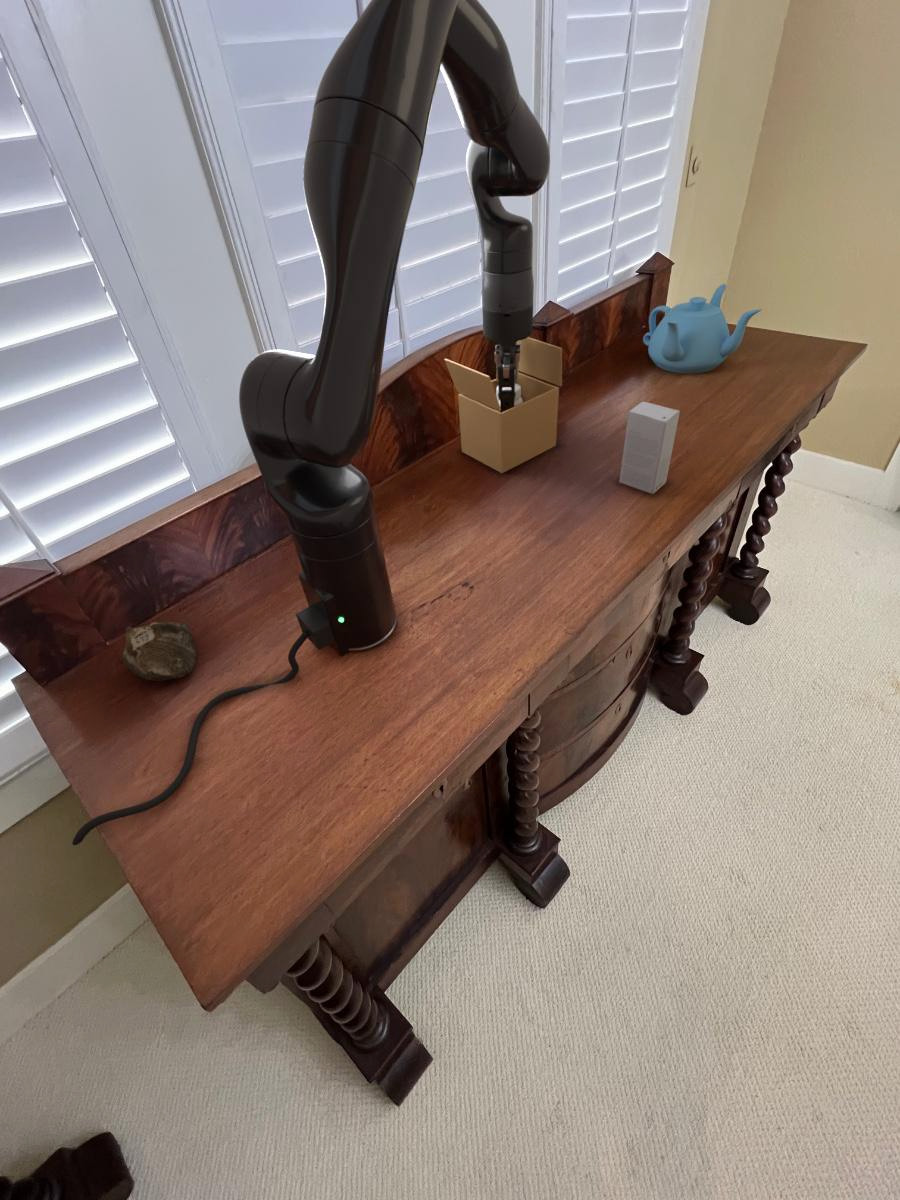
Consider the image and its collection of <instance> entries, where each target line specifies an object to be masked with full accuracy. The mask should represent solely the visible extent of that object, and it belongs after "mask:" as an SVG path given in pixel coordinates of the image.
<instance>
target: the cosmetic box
mask: <svg viewBox="0 0 900 1200" xmlns="http://www.w3.org/2000/svg"><path fill="white" fill-rule="evenodd" d="M680 413H681V412H680V409H675V408H672V407H671V408H670V407H666V406H662V405H659V404H655V403H651V402H648V401H641V402H640V403H639V404H637V405H635V406H634V407H632V408H631V409H630V410H629V411H628V414H627V421H626V429H625V436H624V444H623V452H622V459H621V465H620V473H619V481H618V482H619V484H622V485H626V486H628V487H631V488H633V489H636V490H639V491H642V492H645V493H648V494H650V495H654V494H655V493H657V491H658V490H659V489H661V488H662V487H663V486H664V485H666V483H667V479H668V473H669V470H670V469H669V468H670V464H671V459H672V453H673V449H674V443H675V437H676V434H677V429H678V423H679V419H680V418H679V417H680Z"/></svg>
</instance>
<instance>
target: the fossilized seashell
mask: <svg viewBox="0 0 900 1200" xmlns="http://www.w3.org/2000/svg"><path fill="white" fill-rule="evenodd" d="M121 660H122V662H123V664H124V665H125V666H126V667H127V669H128V670H130V672H132V673H133V674H134V675H135V676H137V677H138V678H141V679H144V680H146V681H153V682H163V681H169V680H173V679H174V680H175V679H176V680H177V679H179V678H182V677H184V676H187V675H188V674H190V673H191V672H192V671H193V669H194V668H195V666H196V662H197V648H196V644H195V640H194V636H193V634H192V631H191V630H190V628H189V627H188V624H187V623H183V622H174V621H171V622H170V621H165V622H164V621H163V622H157V621H153V622H151V623H149V625H144V626H143V625H142V626H138V627H134V628H133V627H132V626H127V627H125V647H124V650H123V653H122V656H121Z"/></svg>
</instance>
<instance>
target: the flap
mask: <svg viewBox="0 0 900 1200" xmlns="http://www.w3.org/2000/svg"><path fill="white" fill-rule="evenodd" d="M444 362H445V365H446V367H447V371H448V372H449V375H450V377H451V380H452V383H453V385H454V387H455V391H456V392H457V393H459V394H464V395H466V396H468V397H470V398H472V399H475V400H477V401H479V402H481V403H483V404H486V405H488V406H490V407H492V408H494V409H497V410H499V411H500V410H501V408H500V405H499V402H498V399H497V396H496V393H495V391H494V388H493V385H492V382H491V381H492V379H491V376H490V375H487V374H486V373H483V372H480V371H478V370H476V369H472V368H470V367H468V366H465V365H463V364H460V363H458V362H456V361H453V360H451V359H448V358H444Z"/></svg>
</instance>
